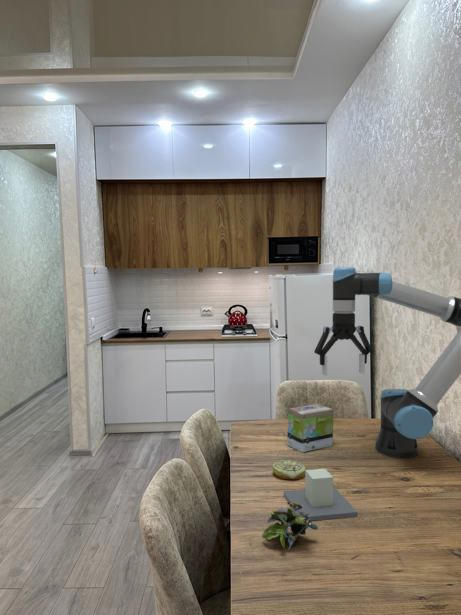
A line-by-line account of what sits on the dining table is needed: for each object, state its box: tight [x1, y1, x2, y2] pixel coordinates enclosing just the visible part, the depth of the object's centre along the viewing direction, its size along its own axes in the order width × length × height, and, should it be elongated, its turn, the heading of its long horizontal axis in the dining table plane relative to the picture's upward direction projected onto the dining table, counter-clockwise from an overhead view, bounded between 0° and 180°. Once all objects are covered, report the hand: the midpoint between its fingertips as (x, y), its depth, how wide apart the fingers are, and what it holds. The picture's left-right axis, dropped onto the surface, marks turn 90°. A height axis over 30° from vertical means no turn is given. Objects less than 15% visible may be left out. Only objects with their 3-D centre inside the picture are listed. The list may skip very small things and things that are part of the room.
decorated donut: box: [272, 459, 307, 481], centre depth 156 cm, size 10×11×4 cm
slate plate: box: [283, 486, 358, 522], centre depth 134 cm, size 16×16×1 cm
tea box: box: [286, 403, 334, 453], centre depth 182 cm, size 15×10×15 cm, turn 120°
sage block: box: [304, 468, 334, 507], centre depth 134 cm, size 6×6×8 cm
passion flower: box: [261, 501, 319, 553], centre depth 115 cm, size 11×11×12 cm
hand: (343, 373), depth 162 cm, fingers open, 13 cm apart
